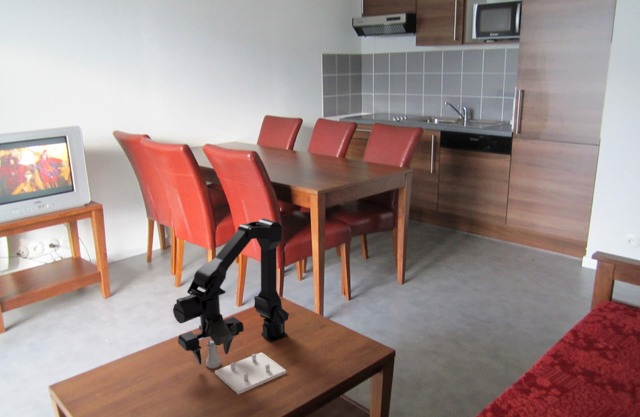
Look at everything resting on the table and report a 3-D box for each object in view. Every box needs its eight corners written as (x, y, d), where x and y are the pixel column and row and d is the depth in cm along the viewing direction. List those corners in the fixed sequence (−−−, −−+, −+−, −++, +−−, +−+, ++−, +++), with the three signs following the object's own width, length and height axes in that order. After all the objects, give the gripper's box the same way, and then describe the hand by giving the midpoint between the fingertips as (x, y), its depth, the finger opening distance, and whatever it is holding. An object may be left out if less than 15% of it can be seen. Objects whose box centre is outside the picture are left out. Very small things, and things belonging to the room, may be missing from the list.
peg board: (261, 355, 167) (261, 346, 166) (286, 373, 157) (285, 364, 156) (215, 373, 157) (214, 364, 156) (238, 394, 147) (237, 384, 146)
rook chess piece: (203, 365, 161) (201, 341, 159) (215, 359, 165) (213, 335, 162) (212, 370, 159) (210, 346, 156) (224, 364, 162) (222, 340, 160)
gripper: (192, 331, 145) (197, 382, 149) (252, 311, 156) (254, 359, 161) (175, 316, 154) (179, 365, 158) (232, 298, 165) (235, 344, 169)
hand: (213, 358), depth 161 cm, fingers open, 8 cm apart
